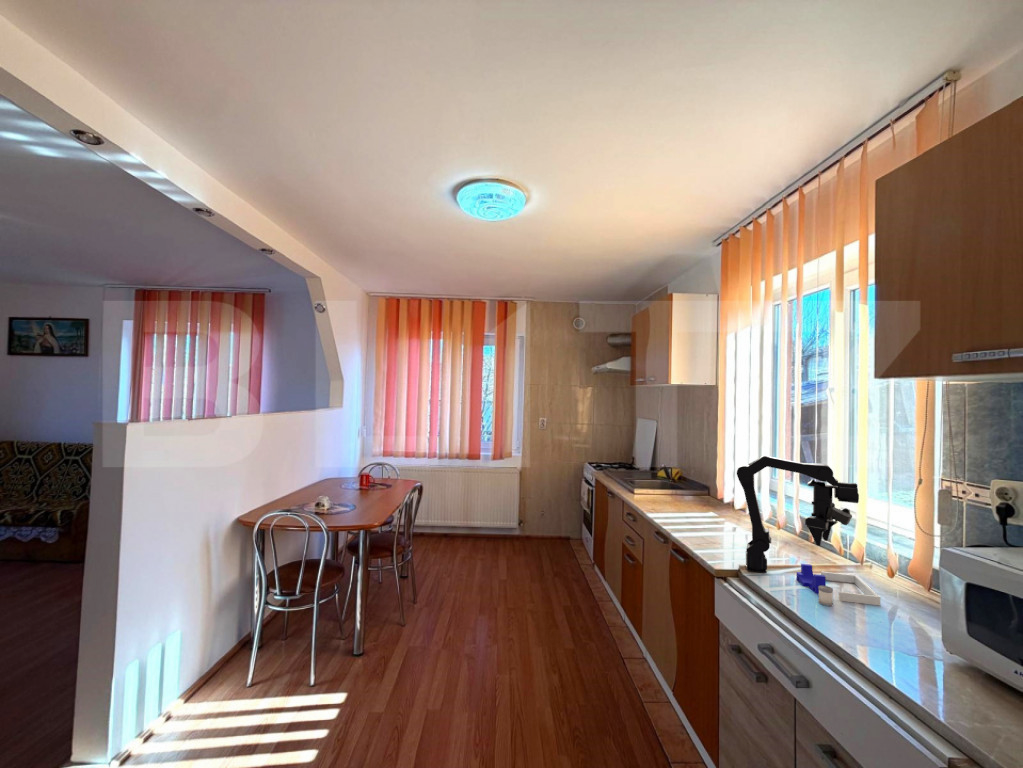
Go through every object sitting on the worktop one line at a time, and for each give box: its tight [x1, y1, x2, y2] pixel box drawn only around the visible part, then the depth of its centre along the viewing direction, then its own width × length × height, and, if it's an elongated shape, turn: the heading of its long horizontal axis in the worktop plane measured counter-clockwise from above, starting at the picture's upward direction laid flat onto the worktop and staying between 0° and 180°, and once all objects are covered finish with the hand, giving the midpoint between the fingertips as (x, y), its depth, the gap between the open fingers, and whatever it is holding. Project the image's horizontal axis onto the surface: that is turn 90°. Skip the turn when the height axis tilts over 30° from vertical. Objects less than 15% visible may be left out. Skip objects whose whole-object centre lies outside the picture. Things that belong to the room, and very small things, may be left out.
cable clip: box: [796, 563, 827, 595], centre depth 163 cm, size 12×4×6 cm, turn 169°
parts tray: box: [820, 570, 881, 606], centre depth 159 cm, size 11×20×3 cm, turn 161°
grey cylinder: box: [818, 585, 834, 607], centre depth 149 cm, size 4×4×5 cm
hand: (822, 543), depth 169 cm, fingers open, 9 cm apart
